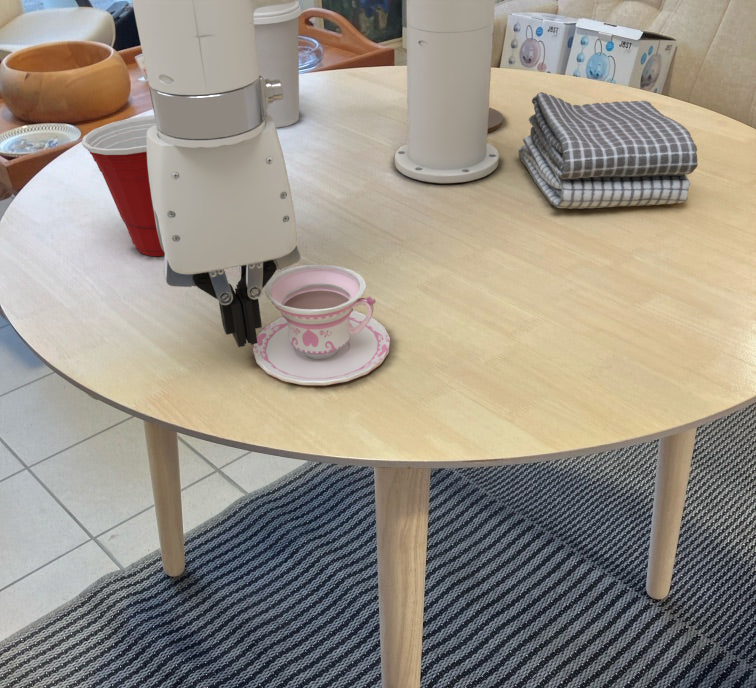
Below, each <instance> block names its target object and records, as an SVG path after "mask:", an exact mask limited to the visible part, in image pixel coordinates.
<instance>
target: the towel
mask: <svg viewBox="0 0 756 688" xmlns="http://www.w3.org/2000/svg"><path fill="white" fill-rule="evenodd" d="M531 103H532V104H533V106H534V107H533V110H534V114H533V115H531V116H529V118H528V121H529V124H530V125H531V128H530V134H529V135H527V136H526V137H524V138H523V139H522V141H523V143H524V145H522V146H521V147H520V148H519V149H518V155H519V160H520V162H522V164H523V165H524V166H525V168H526V169H527V170H528V172H529V174H530V176H531V177H532V179H533V181H534V183H535V184H536V186H537V187H538V188H539V190H540V191H541V192H542V195H544V197H545V198H546V199H547V201H548V202H549V204H550V205H552V206H553V207H555V208H557V209H595V208H596V209H600V208H614V207H634V206H635V207H640V206H641V207H642V206H653V205H654V206H660V205H672V204H673V205H674V204H680V203H686V202H687V201H688V199H689V189H690V185H691V182H690V179H689V178H688V177H687V175H691V174H692V173H694V171H695V170H696V169H697V168H698V164H699V163H698V153H697V151H698V148H697V145H696V143H695V140H694V139H693V137H692V135H691V133H690V131H689V130H688V129H687V128H686V127H685V126H684V125H682V124H681V123H680V122H678V121H676V119H673V118H670V117H668V116H666V115H664V114H663V113H661V112H660V111H659V110H658V109H657V108H655V107H654V105H652V103H651V102H649V101H648V100H640V101H639V100H631V101H626V100H625V101H624V100H622V101H612V102H607V101H606V102H601V103H599V102H595V103H594V102H593V103H590V104H589V103H586V104H581V105H579V104H571V103H570V102H567V101H564V100H563V99H562V98H560V97H555V96H554V95H552V94H547V93H545V92H542V91H540V92H538V93H537V94H536V95H535V96H534V97H533V98H532V99H531Z"/></svg>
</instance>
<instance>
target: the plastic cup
mask: <svg viewBox="0 0 756 688" xmlns="http://www.w3.org/2000/svg"><path fill="white" fill-rule="evenodd" d="M155 125H156V121H155V116H154V114H151V115H143V116H137V117H130V118H127V119H122V120H118V121H113V122H110V123H107V124H104V125H102V126H100V127H97V128H94V129H92V130H91V131H89V132H88V133H86V134H85V135H84V136H83V137H82V140H81V145H82V146H83V148H84V149H86V150H87V151H88V153H89V154H90V155H91V156H92V158H93V161H94V162H95V163H96V166H97V168H98V169H99V172H100V173H101V174H102V177H103V179H104V181H105V183H106V186H107V188H108V190H109V192H110V195H111V197H112V199H113V202H114V205H115V207H116V208H117V211H118V214H119V215H120V217H121V220H122V221H123V223H124V225H125V227H126V230H127V232H128V235H129V237H130V239H131V242H132V244H133V245H134V247H135V249H136V250H137V251H138V252H139V253H140V254H142V255H145V256H147V257H165V252H164V251H163V250H162V248H161V244H160V241H159V237H158V232H157V227H156V222H155V216H154V210H153V204H152V197H151V190H150V183H149V174H148V165H147V143H146V139H147V130H148V129H149V128H151V127H152V126H155Z"/></svg>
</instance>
